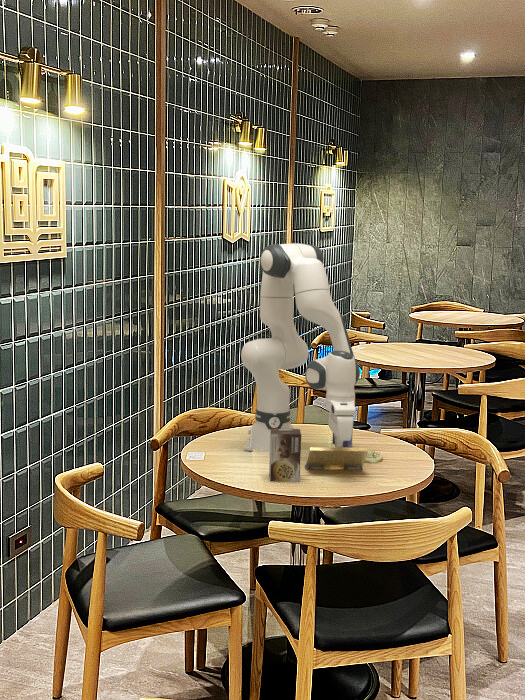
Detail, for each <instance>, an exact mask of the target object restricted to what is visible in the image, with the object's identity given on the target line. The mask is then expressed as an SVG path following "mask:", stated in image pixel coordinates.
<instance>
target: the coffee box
mask: <svg viewBox="0 0 525 700" xmlns="http://www.w3.org/2000/svg"><path fill="white" fill-rule="evenodd" d="M301 453H302V433H301V429H300V428H294V429H272V428H271V432H270V452H269V462H268V463H269V466H268V467H269V469H268V470H269V473H268V478H269V482H273V483H275V482H276V483H300V482H301V461H302V460H301V457H302V456H301V455H302V454H301Z"/></svg>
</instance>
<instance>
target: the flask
mask: <svg viewBox="0 0 525 700" xmlns="http://www.w3.org/2000/svg"><path fill="white" fill-rule="evenodd" d="M353 429H354V428H353ZM353 429H352V435H353V433H354V431H353ZM331 441H332V442H331V443H332V445H334V446H335V438H334V433H333V432H332V440H331ZM342 448H353V436H352V437H351V440H350V441H343V447H342Z"/></svg>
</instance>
